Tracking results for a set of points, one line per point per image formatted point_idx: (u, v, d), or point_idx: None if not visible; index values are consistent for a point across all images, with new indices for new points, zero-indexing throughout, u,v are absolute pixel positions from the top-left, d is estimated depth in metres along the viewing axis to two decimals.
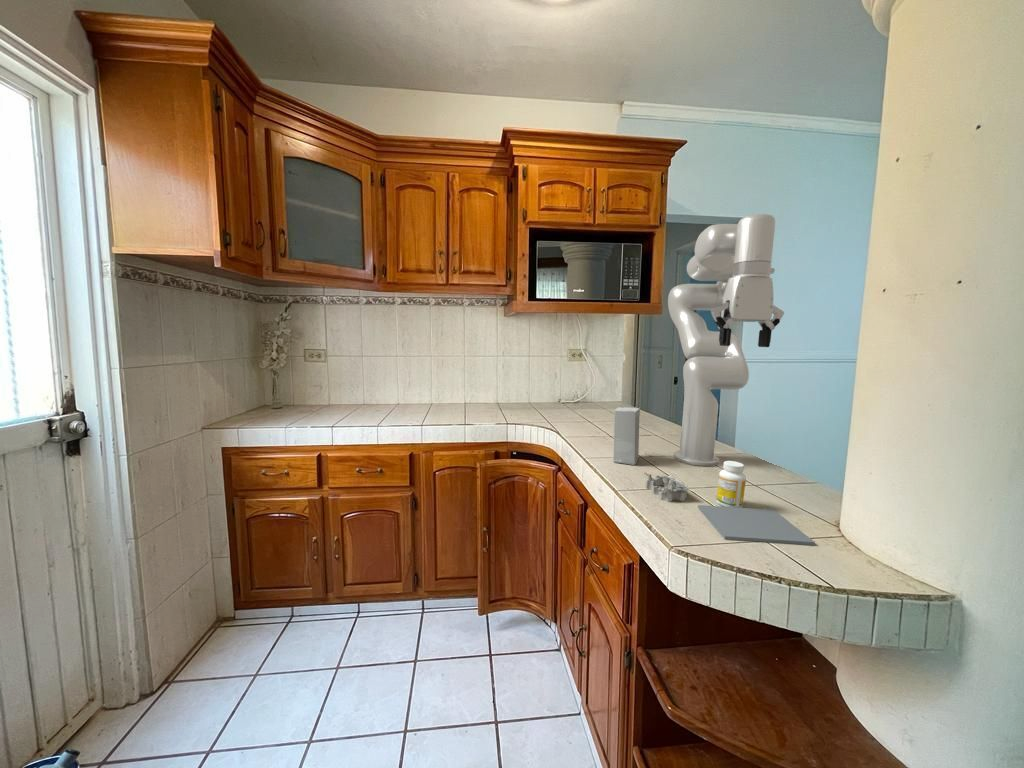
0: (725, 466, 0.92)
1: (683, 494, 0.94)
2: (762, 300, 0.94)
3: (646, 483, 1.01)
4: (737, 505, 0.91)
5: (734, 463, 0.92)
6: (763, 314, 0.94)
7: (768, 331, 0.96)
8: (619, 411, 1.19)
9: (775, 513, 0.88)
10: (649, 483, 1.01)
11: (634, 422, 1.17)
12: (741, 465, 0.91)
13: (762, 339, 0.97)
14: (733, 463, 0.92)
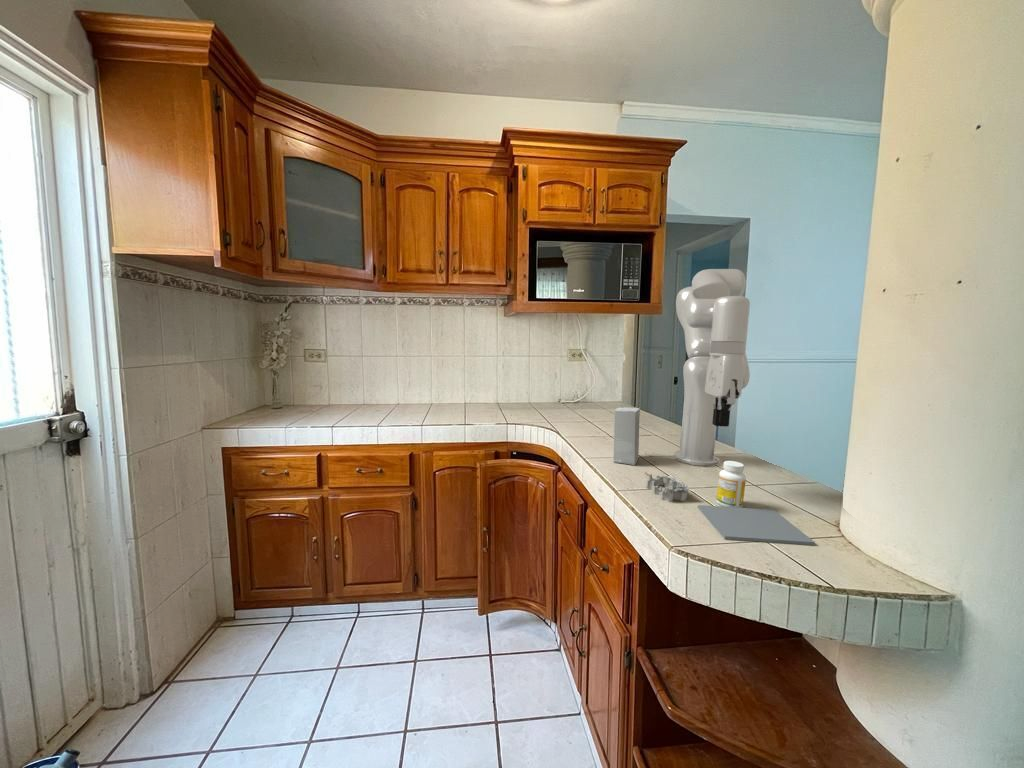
0: (725, 466, 0.92)
1: (684, 494, 0.94)
2: None
3: (647, 483, 1.01)
4: (737, 505, 0.91)
5: (734, 463, 0.92)
6: None
7: None
8: (619, 411, 1.19)
9: (775, 513, 0.88)
10: (650, 483, 1.01)
11: (634, 422, 1.17)
12: (741, 465, 0.91)
13: None
14: (733, 463, 0.92)
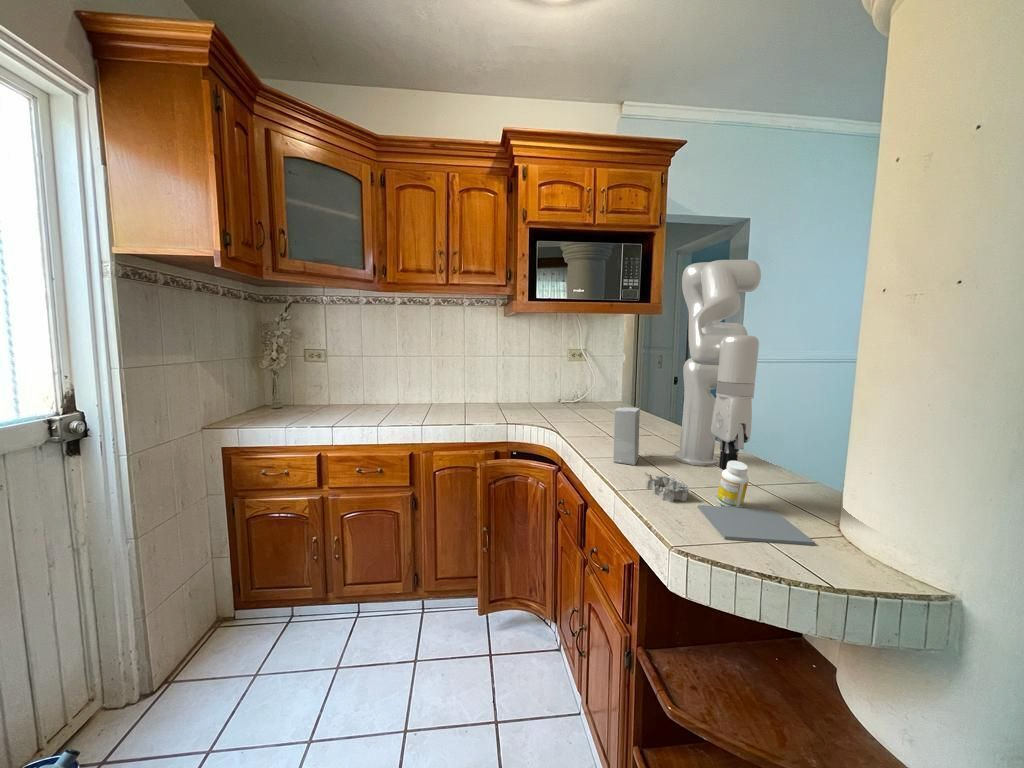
0: (728, 468, 0.90)
1: (684, 494, 0.94)
2: None
3: (647, 483, 1.01)
4: (737, 505, 0.90)
5: (738, 464, 0.90)
6: None
7: None
8: (619, 411, 1.19)
9: (775, 513, 0.88)
10: (650, 483, 1.00)
11: (634, 422, 1.17)
12: (745, 467, 0.89)
13: None
14: (737, 464, 0.90)
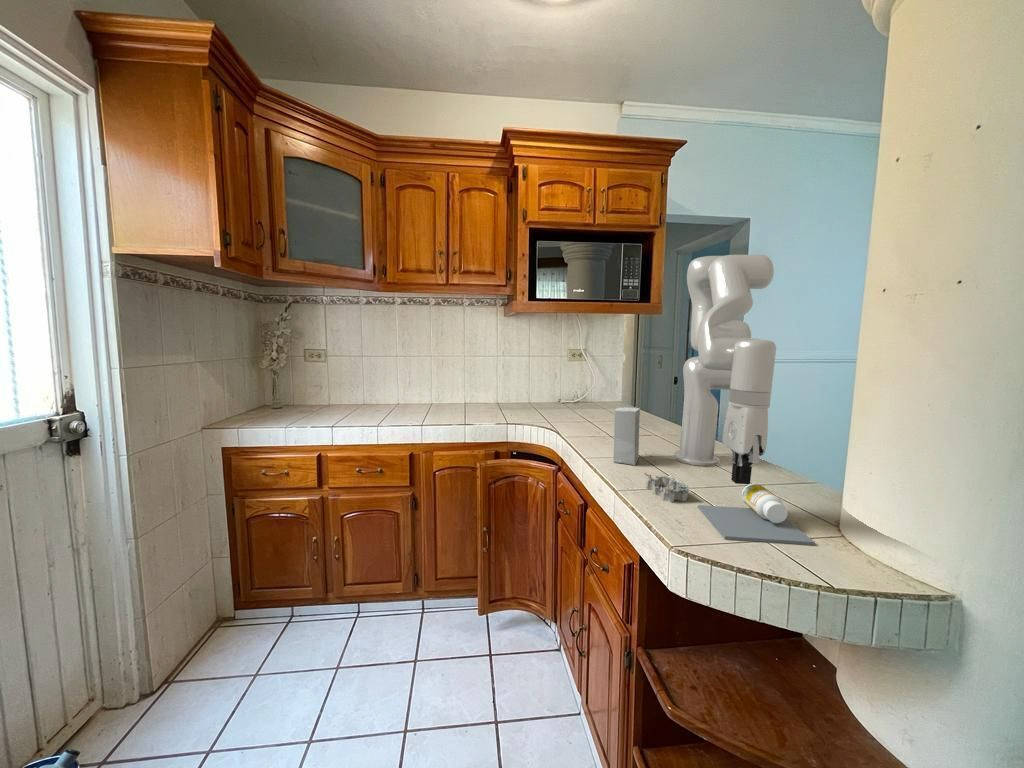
0: (773, 502, 0.82)
1: (685, 494, 0.94)
2: None
3: (647, 484, 1.01)
4: (742, 497, 0.90)
5: (777, 514, 0.81)
6: None
7: None
8: (619, 411, 1.19)
9: None
10: (650, 484, 1.00)
11: (634, 422, 1.17)
12: (771, 519, 0.82)
13: None
14: (777, 513, 0.81)
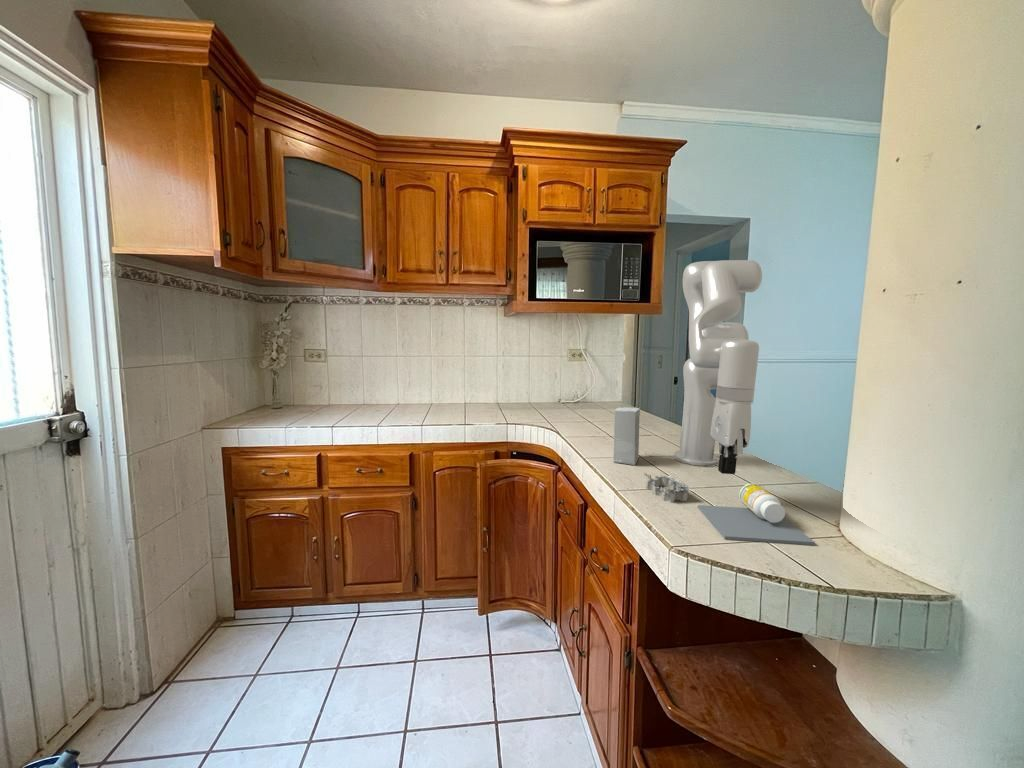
0: (769, 503, 0.82)
1: (685, 494, 0.94)
2: None
3: (647, 484, 1.01)
4: (741, 499, 0.90)
5: (775, 514, 0.81)
6: None
7: None
8: (619, 411, 1.19)
9: None
10: (650, 484, 1.00)
11: (634, 422, 1.17)
12: (769, 519, 0.82)
13: None
14: (775, 513, 0.81)
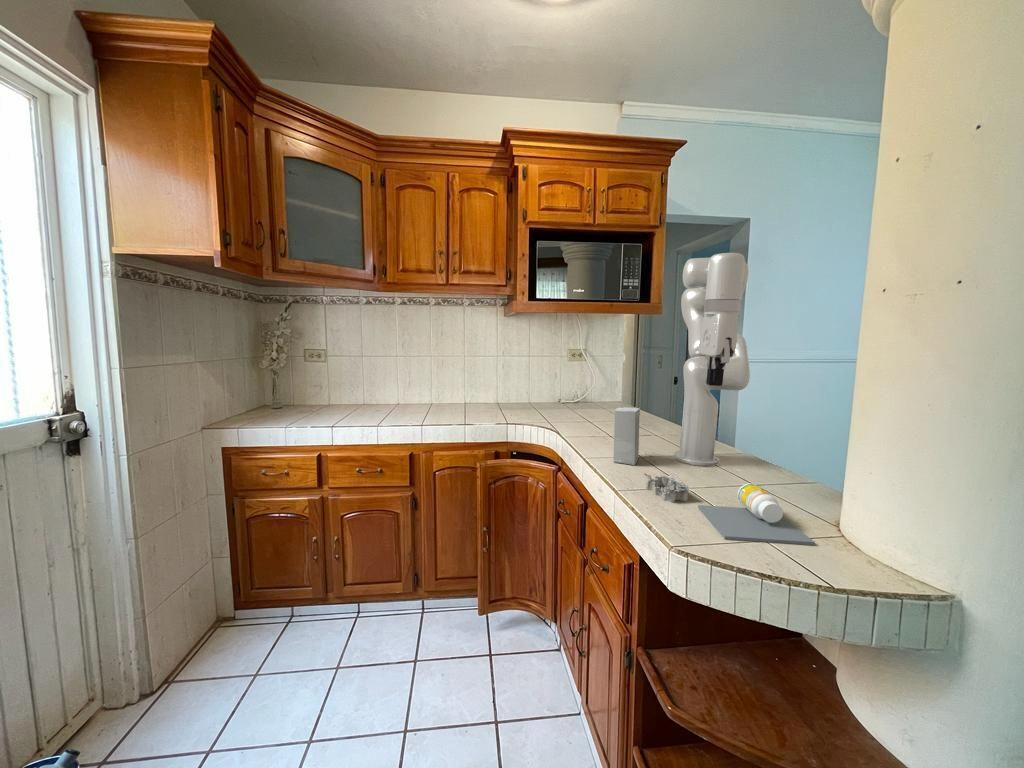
0: (765, 503, 0.82)
1: (685, 494, 0.94)
2: None
3: (647, 484, 1.00)
4: None
5: (773, 514, 0.81)
6: None
7: None
8: (619, 411, 1.19)
9: None
10: (650, 484, 1.00)
11: (634, 422, 1.17)
12: (768, 520, 0.82)
13: None
14: (773, 513, 0.81)
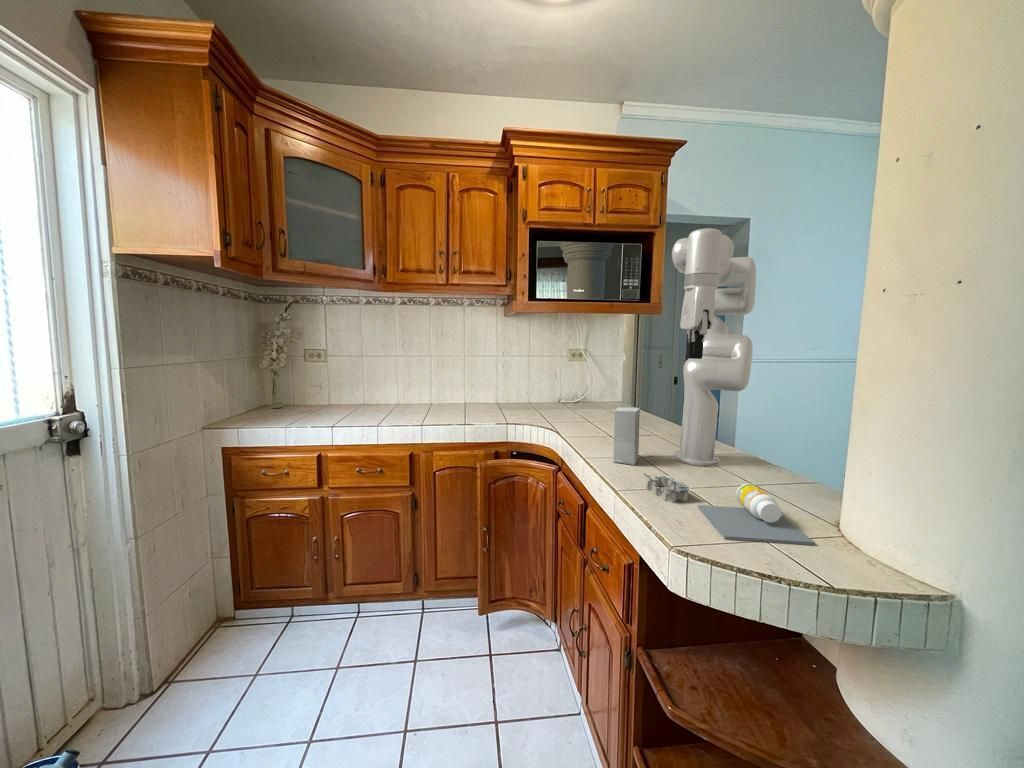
0: (763, 504, 0.82)
1: (686, 494, 0.94)
2: None
3: (646, 484, 1.00)
4: (739, 502, 0.90)
5: (772, 513, 0.81)
6: None
7: None
8: (619, 411, 1.19)
9: None
10: (650, 484, 1.00)
11: (634, 422, 1.17)
12: (768, 520, 0.82)
13: None
14: (771, 512, 0.81)
